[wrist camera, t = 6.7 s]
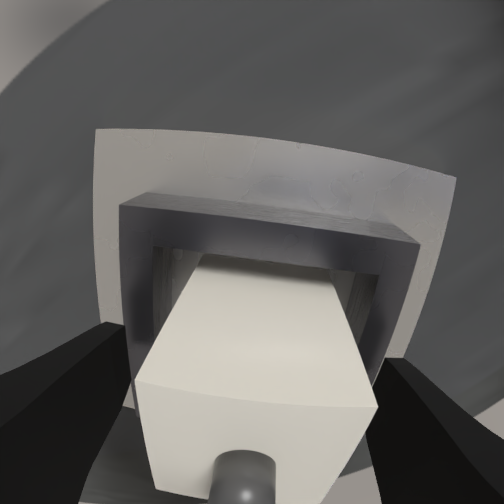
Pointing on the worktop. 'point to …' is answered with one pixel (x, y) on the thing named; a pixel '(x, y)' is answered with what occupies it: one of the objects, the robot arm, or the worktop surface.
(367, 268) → the socket plate
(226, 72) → the worktop surface
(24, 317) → the worktop surface
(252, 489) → the plug
